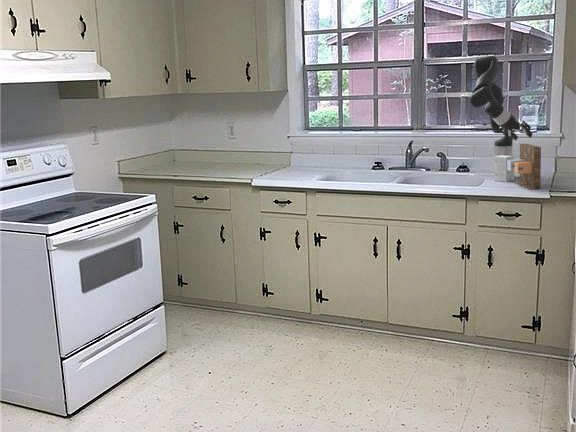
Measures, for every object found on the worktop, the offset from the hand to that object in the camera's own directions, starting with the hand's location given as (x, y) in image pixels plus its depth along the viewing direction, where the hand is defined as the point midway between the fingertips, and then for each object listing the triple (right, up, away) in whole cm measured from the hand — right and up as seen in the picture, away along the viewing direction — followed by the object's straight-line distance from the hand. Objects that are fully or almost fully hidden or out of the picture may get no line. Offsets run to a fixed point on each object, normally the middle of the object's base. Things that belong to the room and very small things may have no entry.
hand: (523, 137), depth 314 cm
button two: (+3, -17, +5) cm, 18 cm away
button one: (+3, -15, +16) cm, 22 cm away
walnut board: (+6, -23, +12) cm, 26 cm away
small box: (+1, -19, +33) cm, 38 cm away
